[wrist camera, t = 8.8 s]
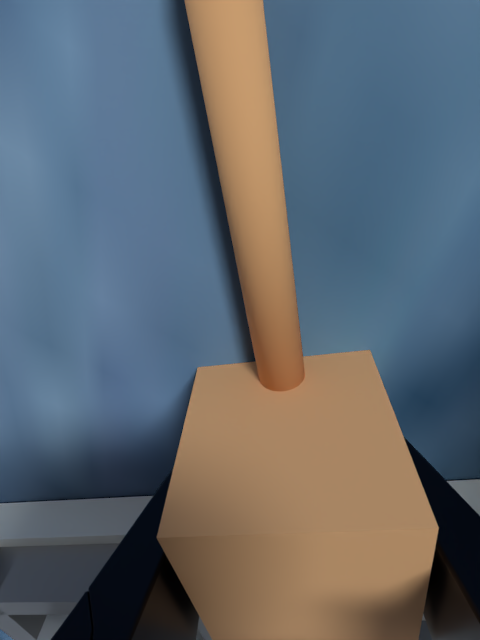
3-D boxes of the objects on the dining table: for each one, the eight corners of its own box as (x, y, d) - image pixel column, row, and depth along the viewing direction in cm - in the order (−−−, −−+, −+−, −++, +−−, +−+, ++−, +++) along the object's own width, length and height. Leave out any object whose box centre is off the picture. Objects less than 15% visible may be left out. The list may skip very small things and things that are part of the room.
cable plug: (371, -145, 5) (685, -818, 1) (368, 462, 10) (417, 643, 7) (68, -59, 5) (-319, -332, 2) (229, 471, 11) (213, 641, 8)
